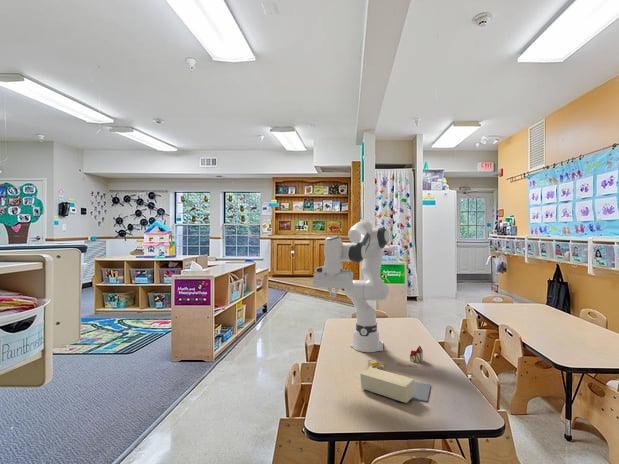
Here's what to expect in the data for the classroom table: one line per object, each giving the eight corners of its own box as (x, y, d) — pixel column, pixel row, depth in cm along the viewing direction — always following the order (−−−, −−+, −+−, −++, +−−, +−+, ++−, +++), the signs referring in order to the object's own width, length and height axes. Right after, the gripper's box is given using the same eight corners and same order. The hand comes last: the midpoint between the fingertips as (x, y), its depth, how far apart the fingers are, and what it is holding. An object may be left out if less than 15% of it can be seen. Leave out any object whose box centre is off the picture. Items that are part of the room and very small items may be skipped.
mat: (378, 377, 163) (378, 376, 163) (430, 385, 154) (430, 384, 154) (369, 391, 149) (369, 390, 149) (427, 402, 140) (427, 400, 140)
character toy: (371, 365, 169) (363, 359, 177) (371, 372, 169) (363, 366, 177) (386, 363, 172) (377, 357, 179) (386, 369, 172) (377, 364, 179)
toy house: (424, 364, 180) (423, 348, 180) (410, 363, 182) (410, 347, 182) (422, 359, 186) (422, 344, 186) (409, 359, 187) (409, 343, 187)
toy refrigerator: (361, 390, 151) (406, 405, 137) (359, 373, 151) (405, 386, 137) (371, 382, 157) (415, 396, 143) (369, 366, 156) (414, 378, 142)
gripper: (355, 269, 174) (355, 297, 174) (316, 267, 182) (316, 294, 182) (351, 270, 168) (351, 299, 168) (311, 268, 176) (312, 296, 176)
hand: (333, 296), depth 175 cm, fingers closed
